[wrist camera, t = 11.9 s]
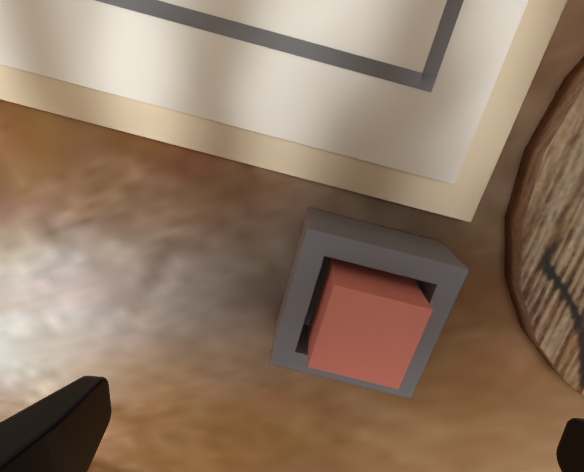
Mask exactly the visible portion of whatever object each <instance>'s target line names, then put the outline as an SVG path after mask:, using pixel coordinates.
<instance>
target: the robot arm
mask: <svg viewBox="0 0 584 472" xmlns="http://www.w3.org/2000/svg"><path fill="white" fill-rule="evenodd" d="M110 417H111V402H110V393H109V384H108V381H107V379H106V378H104V377H98V376H83V377H81V378H79V379H78V380H76V381H74V382H72V383H70V384H69V385H67V386H65V387H63V388H61V389H60V390H58V391H56V392H54V393H52V394H51V395H49V396H47V397H45V398H43V399H42V400H40V401H38V402H36V403H34V404H33V405H31V406H29V407H27V408H25V409H24V410H22V411H20V412H18V413H17V414H15V415H13V416H11V417H9V418H8V419H6V420H4V421H2V422H0V472H87V471H88V469H89V466H90V464H91V462H92V460H93V457H94V455H95V453H96V451H97V448H98V446H99V444H100V442H101V440H102V437H103V435H104V433H105V431H106V428H107V426H108V424H109V421H110ZM556 454H557V460H558V464H559V466H560V469H561V471H562V472H584V419H580V418H573V419H570V420H569V421H568V422H567V424H566V427H565V429H564V432H563V434H562V437H561V439H560V442H559V445H558V447H557V453H556Z"/></svg>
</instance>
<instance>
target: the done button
mask: <svg viewBox="0 0 584 472" xmlns="http://www.w3.org/2000/svg"><path fill="white" fill-rule="evenodd" d="M432 311H433V309H432V308H431V306H430V304H429V303H428V301H427V299H426V298H425V296H424V294H423V293H422V291H421V289H420V288H419V286H418V285H417V283H416V281H415V280H414V279H413V278H409V277H405V276H401V275H397V274H393V273H390V272H386V271H382V270H378V269H374V268H370V267H366V266H362V265H358V264H354V263H350V262H347V261H343V260H339V259H335V258H331V257H330V260H329V263H328V266H327V270H326V273H325V276H324V279H323V282H322V286H321V289H320V292H319V295H318V298H317V302H316V305H315V308H314V311H313V314H312V318H311V321H310V324H309V327H308V367H309V368H313V369H317V370H321V371H326V372H330V373H334V374H338V375H342V376H346V377H350V378H354V379H358V380H362V381H366V382H370V383H375V384H379V385H383V386H387V387H391V388H395V389H399V387H400V384H401V382H402V380H403V377H404V375H405V373H406V370H407V368H408V366H409V364H410V361H411V359H412V357H413V354H414V352H415V350H416V347H417V345H418V343H419V341H420V338H421V336H422V334H423V331H424V329H425V327H426V324H427V322H428V320H429V318H430V315H431V313H432Z"/></svg>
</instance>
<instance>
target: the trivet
mask: <svg viewBox="0 0 584 472" xmlns="http://www.w3.org/2000/svg"><path fill="white" fill-rule="evenodd" d="M505 278H506V281H507V284H508V287H509V290H510V294H511V297H512V300H513V303H514V306H515V309H516V312H517V316H518V319H519V322H520V325H521V327H522V328H523V330H524V331H525V332H526V334H527V335H528V337H529V338H530V339H531V341H532V342H533V343H534V345H535V346H536V347H537V349H538V350H539V351H540V353H541V354H542V355H543V357H544V358H545V359H546V361H547V362H548V363H549V365H550V366H551V367H552V368H553V369H554V370H555V371H556V372H557V373H558V374H559V376H560V377H561V378H562V379H563V380H564V381H565V382H566V383H567V384H568V385H569V386H570V387H572V388H573V389H575V390H576V391H577V392H579V393H580V394H582V395H583V396H584V57H583V58H582V59H581V61H580V62H579V63H578V64H577V65H576V66H575V67H574V68H573V70H572V71H571V72H570V73H569V74H568V75H567V76H566V78H565V79H564V81H563V82H562V84H561V86H560V88H559V90H558V91H557V93H556V95H555V97H554V98H553V100H552V102H551V104H550V105H549V107H548V109H547V111H546V113H545V114H544V116H543V118H542V120H541V121H540V123H539V125H538V127H537V128H536V130H535V132H534V134H533V136H532V137H531V139H530V141H529V143H528V144H527V146H526V148H525V150H524V153H523V157H522V160H521V164H520V167H519V171H518V174H517V178H516V181H515V185H514V188H513V192H512V195H511V199H510V202H509V206H508V209H507V213H506V216H505Z"/></svg>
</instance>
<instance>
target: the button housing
mask: <svg viewBox="0 0 584 472" xmlns="http://www.w3.org/2000/svg"><path fill="white" fill-rule="evenodd" d="M330 257H331V258H335V259H339V260H343V261H347V262H350V263H354V264H358V265H362V266H366V267H370V268H374V269H378V270H382V271H386V272H390V273H393V274H397V275H401V276H405V277H409V278H413V279H414V280H415V281H416V283H417V285H418V286H419V288H420V289H421V291H422V293H423V294H424V296H425V298H426V299H427V301H428V303H429V304H430V306H431V308H432V309H433V311H432V313H431V315H430V318H429V320H428V322H427V324H426V327H425V329H424V331H423V334H422V336H421V338H420V341H419V343H418V345H417V347H416V350H415V352H414V354H413V357H412V359H411V361H410V364H409V366H408V368H407V370H406V373H405V375H404V377H403V380H402V382H401V384H400V387H399V389H395V388H391V387H387V386H383V385H379V384H375V383H370V382H366V381H362V380H358V379H354V378H350V377H346V376H342V375H338V374H334V373H330V372H326V371H321V370H317V369H313V368H309V367H308V327H309V324H310V321H311V318H312V314H313V311H314V308H315V305H316V302H317V298H318V295H319V292H320V289H321V286H322V282H323V279H324V276H325V273H326V270H327V266H328V263H329V260H330ZM468 271H469V269H468V268H467V267H466V266H465V265H464V264H463V263H462V262H461V261H460V260H459V259H458V258H457V257H456V256H455V255H454V254H453V253H452V252H451V251H450V250H449V249H448V248H447V247H446V246H445V245H444V244H443V243H442V242H441V241H437V240H433V239H429V238H425V237H422V236H418V235H414V234H410V233H406V232H402V231H398V230H395V229H391V228H387V227H383V226H379V225H375V224H371V223H368V222H364V221H360V220H356V219H352V218H348V217H345V216H341V215H337V214H333V213H329V212H325V211H321V210H318V209H314V208H310V207H308V210H307V214H306V217H305V221H304V224H303V228H302V232H301V235H300V239H299V243H298V246H297V250H296V253H295V257H294V261H293V264H292V268H291V271H290V275H289V279H288V282H287V286H286V290H285V293H284V297H283V300H282V304H281V308H280V311H279V315H278V318H277V322H276V327H275V333H274V339H273V345H272V351H271V357H270V363H269V364H271V365H275V366H279V367H283V368H287V369H291V370H296V371H300V372H304V373H308V374H312V375H316V376H320V377H324V378H328V379H332V380H336V381H341V382H345V383H349V384H353V385H357V386H361V387H365V388H369V389H373V390H377V391H381V392H386V393H390V394H394V395H398V396H402V397H406V398H410V399H411V397H412V395H413V393H414V390H415V388H416V386H417V384H418V382H419V379H420V377H421V375H422V373H423V371H424V368H425V366H426V364H427V362H428V359H429V357H430V355H431V353H432V351H433V348H434V346H435V344H436V342H437V340H438V337H439V335H440V333H441V331H442V329H443V326H444V324H445V322H446V320H447V318H448V315H449V313H450V311H451V309H452V307H453V304H454V302H455V300H456V298H457V296H458V293H459V291H460V289H461V287H462V285H463V282H464V280H465V278H466V276H467V274H468Z"/></svg>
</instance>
